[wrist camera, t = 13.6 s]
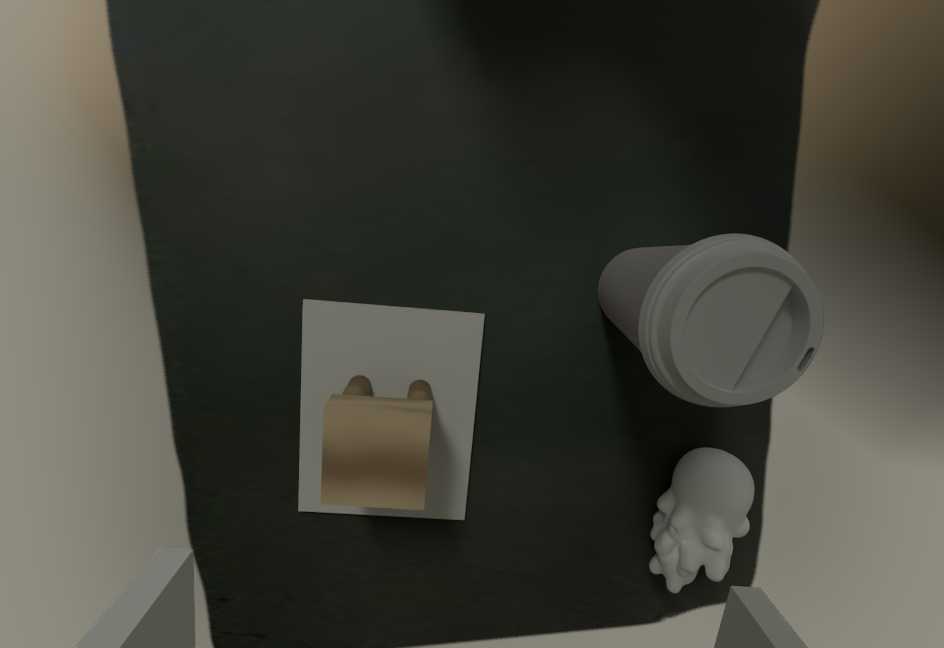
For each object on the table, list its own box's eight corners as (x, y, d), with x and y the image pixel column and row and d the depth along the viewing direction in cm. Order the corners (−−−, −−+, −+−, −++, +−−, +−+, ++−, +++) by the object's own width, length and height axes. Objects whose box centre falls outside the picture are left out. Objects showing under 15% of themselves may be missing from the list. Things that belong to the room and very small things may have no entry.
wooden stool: (346, 371, 40) (323, 406, 32) (434, 378, 40) (431, 414, 33) (343, 453, 41) (320, 504, 34) (428, 458, 42) (424, 510, 34)
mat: (304, 299, 39) (303, 299, 38) (484, 313, 40) (484, 314, 39) (299, 508, 43) (298, 511, 42) (464, 517, 43) (464, 520, 43)
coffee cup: (629, 370, 41) (728, 455, 27) (553, 286, 40) (615, 328, 25) (720, 291, 40) (875, 334, 26) (646, 201, 38) (768, 192, 24)
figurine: (777, 463, 41) (732, 594, 42) (695, 430, 45) (657, 550, 47) (757, 477, 36) (706, 626, 37) (667, 438, 40) (624, 573, 42)
